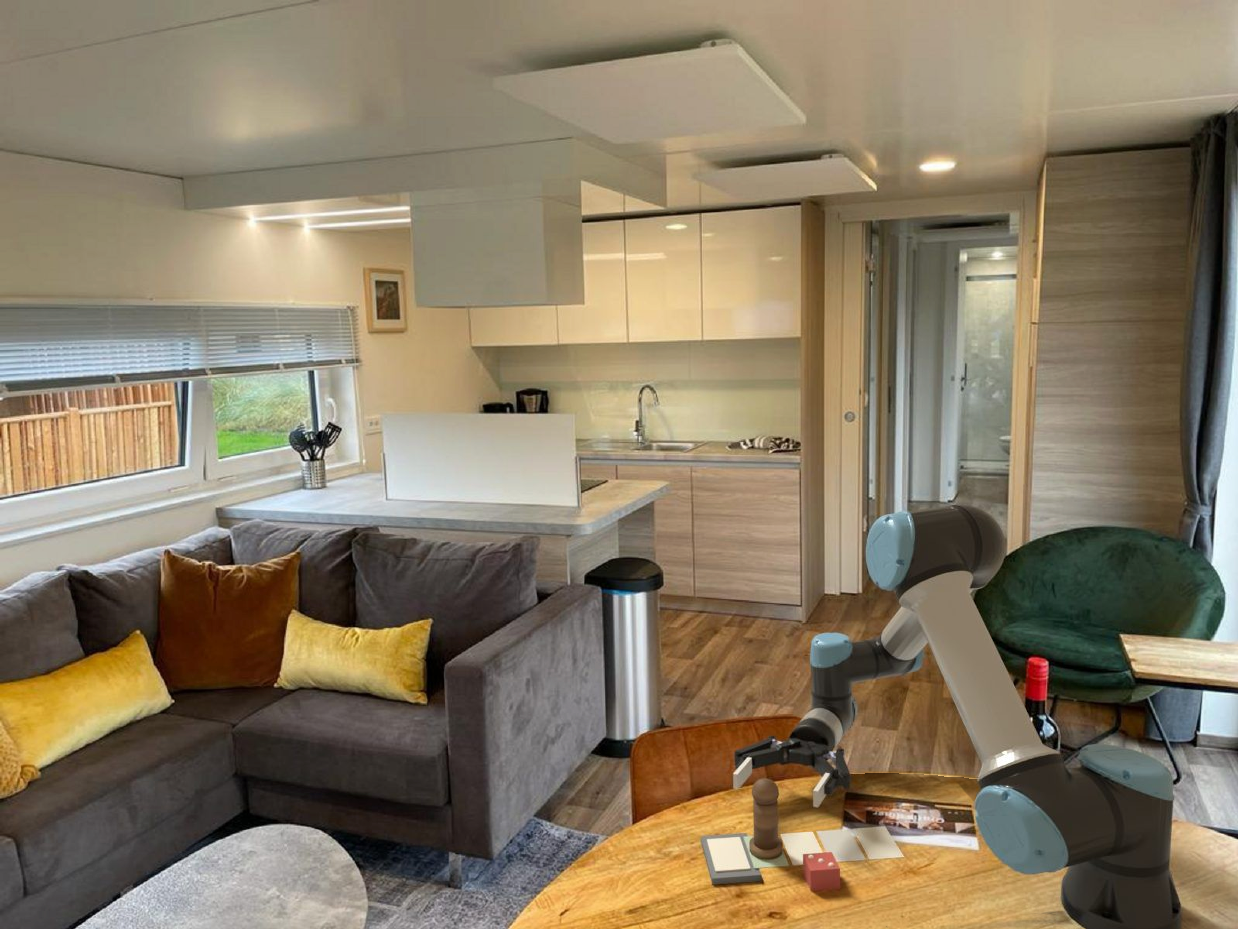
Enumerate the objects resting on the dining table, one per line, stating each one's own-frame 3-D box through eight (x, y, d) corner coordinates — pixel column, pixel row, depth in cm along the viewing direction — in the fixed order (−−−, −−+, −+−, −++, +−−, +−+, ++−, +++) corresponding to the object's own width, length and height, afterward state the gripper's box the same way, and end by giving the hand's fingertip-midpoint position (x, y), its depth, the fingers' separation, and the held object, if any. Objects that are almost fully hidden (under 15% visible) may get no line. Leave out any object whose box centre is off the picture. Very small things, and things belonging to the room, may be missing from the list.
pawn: (786, 858, 150) (785, 786, 148) (752, 860, 149) (751, 788, 148) (778, 840, 155) (778, 771, 153) (746, 842, 155) (745, 773, 153)
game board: (912, 869, 147) (912, 862, 147) (712, 884, 146) (711, 877, 146) (886, 828, 159) (886, 821, 159) (700, 841, 158) (700, 834, 158)
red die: (840, 896, 142) (839, 866, 141) (810, 898, 141) (810, 868, 141) (831, 878, 146) (831, 850, 145) (803, 881, 146) (802, 852, 145)
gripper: (885, 770, 168) (851, 829, 150) (750, 744, 180) (704, 795, 162) (885, 729, 167) (851, 784, 149) (750, 706, 179) (703, 754, 161)
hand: (774, 790), depth 155 cm, fingers open, 13 cm apart
